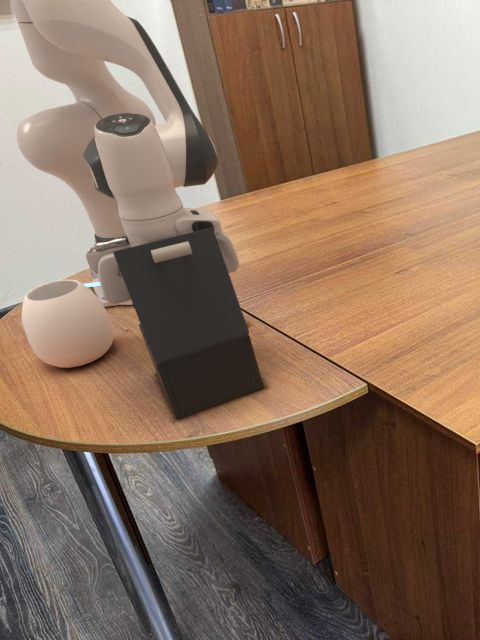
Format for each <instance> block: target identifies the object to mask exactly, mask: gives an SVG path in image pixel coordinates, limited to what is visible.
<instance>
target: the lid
mask: <svg viewBox="0 0 480 640" xmlns="http://www.w3.org/2000/svg"><path fill="white" fill-rule="evenodd" d="M113 253H114V256H115V259H116V261H117V264H118V266H119V269H120V272H121V274H122V277H123V279H124V282H125V285H126V287H127V290H128V293H129V295H130V298H131V300H132V303H133V305H132V306H133V308H134V312H135V314H136V316H137V319H138V321H139V324H141V327H142V329H143V332H144V334H145V337H146V340H147V342H148V345H149V348H150V350H151V353H152V355H153V358H154V361H155V363H158V362H161V361H164V360H167V359H170V358H173V357H177V356H180V355H183V354H186V353H189V352H192V351H195V350H199V349H202V348H205V347H208V346H211V345H214V344H217V343H220V342H224V341H227V340H230V339H233V338H236V337H239V336H242V335H245V334H249V335H250V331H249V328H248V325H247V322H246V319H245V317H244V313H243V311H242V308H241V305H240V301H239V299H238V297H237V294H236V291H235V288H234V284H233V282H232V279H231V276H230V273H228V270H227V267H226V264H225V261H224V258H223V256H222V253H221V250H220V247H219V244H218V241H217V238H216V235H215V233H214V230H213V228H208V229H204V230H200V231H196V232H192V233H187V234H183V235H179V236H175V237H171V238H167V239H163V240H159V241H154V242H150V243H146V244H142V245H138V246H134V247H130V248H126V249H121V250H117V251H113Z"/></svg>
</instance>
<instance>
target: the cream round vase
mask: <svg viewBox="0 0 480 640" xmlns="http://www.w3.org/2000/svg"><path fill="white" fill-rule="evenodd" d="M84 284H85V283H83V282H81V281H79V280H76V279H58V280H53V281H49V282H45V283H42V284H40V285H38V286H36V287H34V288H32V289H30V290H29V291H28V292H27V293H26V294H25V295H24V297H23V301H22V307H21V324H22V328H23V330H24V333H25V336H26V338H27V341H28V343H29V345H30V347H31V349H32V351H33V353H34V355H35V356H36V357H38V358H39V360H41V361H42V362H43V363H45V364H47V365H50V366H52V367H56V368H61V369H63V368H65V369H70V368H75V367H81V366H84V365H87V364H89V363H92V362H95V361H96V360H98V359H101V358H102V356H104V355H105V354H106V353H107V352H108V351H109V349H110V348H111V346H112V344H113V341H114V333H115V329H114V326H113V322H112V321H111V317H110V315H109V313H108V311H107V310H106V307H104V306H103V304H102V302H101V301H100V299H99V298H98V297H97V295H96V293H95V292H94V291H92V289H90V287H86V286H85V285H84Z"/></svg>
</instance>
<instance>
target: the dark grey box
mask: <svg viewBox="0 0 480 640" xmlns="http://www.w3.org/2000/svg"><path fill="white" fill-rule="evenodd" d="M138 327H139V330H140V332H141V335H142V338H143V340H144V343H145V346H146V349H147V352H148V354H149V357H150V359H151V362H152V366H153V367H154V370H155V372H156V375H157V378H158V380H159V382H160V384H161V387H162V390H163V392H164V395H165V396H166V399H167V401H168V403H169V405H170V408H171V410H172V413H173V415H174V417H175V420H179V419H182V418H185V417H187V416H190V415H194V414H196V413H199V412H200V411H205V410H206V409H210V408H211V407H215V406H219V405H221V404H224V403H227V402H229V401H232V400H235V399H238V398H241V397H244V396H246V395H249V394H252V393H254V392H258V391H259V390H263V389H264V388H265V387H264V383H263V379H262V376H261V372H260V369H259V365H258V360H257V357H256V353H255V351H254V347H253V343H252V339H251V336H250V333H249V334H245V335H242V336H239V337H236V338H233V339H230V340H227V341H224V342H220V343H217V344H214V345H211V346H208V347H205V348H202V349H199V350H195V351H192V352H189V353H186V354H183V355H180V356H177V357H173V358H170V359H167V360H164V361H161V362H158V363H155V361H154V358H153V355H152V353H151V350H150V348H149V345H148V342H147V340H146V337H145V334H144V332H143V329H142V327H141V324H140V323H139V324H138Z"/></svg>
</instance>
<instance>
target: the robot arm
mask: <svg viewBox="0 0 480 640" xmlns="http://www.w3.org/2000/svg"><path fill="white" fill-rule="evenodd" d="M10 3H11V7H12V10H13V13H14V16H15V19H16V21H17V25H18V27H19V30H20V33H21V36H22V38H23V41H24V44H25V47H26V50H27V52H28V56H29V58H30V60H31V64H32V65H33V67H34V68H35V70H37V71H38V72H39V74H41V75H42V76H43V77H45V78H47V79H49V80H51V81H54V82H57V83H60V84H63V85H65V86H67V87H68V89H69V90H70V92H71V93H72V95H73V97H74V99H75V103H70V104H65V105H61V106H57V107H52V108H47V109H43V110H41V111H39V112H36V113H34V114H32V115H30V116H29V117H27V118H24V119H23V120H21V121H20V122H19V124H18V127H17V131H16V140H17V141H16V143H17V145H18V149H19V150H20V152H21V154H22V156H23V157H24V158H25V159H26V161H27V162H28V163H29V164H30V165H32V166H33V167H34V168H36V169H37V170H39V171H41V172H43V173H45V174H48V175H51V176H54V177H55V178H57V179H59V180H61V181H62V182H64V183H65V184H66V185H67V186H68V187H69V188H70V189H71V190H72V191H73V192H74V193H75V194H76V195H77V197H78V198H79V200H80V201H81V203H82V206H83V207H84V210H85V211H86V214H87V217H88V218H89V221H90V223H91V226H92V228H93V230H94V244H93V246H92V247H90V248H89V249H88V250H87V251H86V255H85V258H86V261H87V264H88V266H89V272H90V274H91V277H92V278H93V279H92V280H91V281H90V282H89V283H88V282H87V283H83V284H84V285H85V286H86V287H88V288H91V287H92V289H93V292H94V294H95V295H96V296H97V297H98V298H99V299H100V301H101V302H102V304H103V306H104V308H106V307H114V306H133V303H132V300H131V298H130V295H129V293H128V290H127V287H126V285H125V282H124V279H123V277H122V274H121V272H120V269H119V266H118V264H117V261H116V259H115V256H114V253H113V251H117V250H121V249H126V248H130V247H134V246H138V245H142V244H146V243H150V242H154V241H159V240H163V239H167V238H171V237H175V236H179V235H183V234H187V233H192V232H196V231H200V230H204V229H208V228H213V230H214V233H215V235H216V238H217V241H218V244H219V247H220V250H221V253H222V256H223V258H224V261H225V264H226V267H227V270H228V273H229V274H231V273H234V272H236V271H237V270H238V269H239V267H240V261H239V258H238V257H239V256H238V254H237V252H236V249H235V247H234V244H233V242H232V240H231V239H230V237H229V235H227V234H226V233H225V232H224V231H223V229H222V224H221V221H220V219H219V217H218V216H216V214H215V213H213V212H212V211H211V210H209V209H206V208H205V209H204V208H190V207H189V208H188V207H184V205H183V202H182V199H181V198H180V197H179V195H178V193H177V190H176V188H180V187H183V188H187V187H195V186H196V187H197V186H204V185H206V184H207V183H208V182H209V180H210V179H211V178H212V177H213V175H214V174H215V172H216V170H217V169H218V166H219V160H218V153H217V150H216V147H215V144H214V142H213V140H212V139H211V137H210V135H209V134H208V132H207V131H206V129H205V128H204V126H203V125H202V123H201V121H200V120H199V118H198V117H197V116H196V114H195V113H194V111H193V110H192V108H191V106H190V104H189V103H188V101H187V98H186V97H185V95H184V94H183V92H182V90H181V88H180V86H179V84H178V83H177V81H176V80H175V79H176V78H174V76H173V74H172V73H171V70H170V68H169V67H168V65H167V63H166V62H165V59H164V58H163V57H162V54H161V53H160V52H159V50H158V48H157V46H156V44H155V43H154V41H153V40H152V38H151V37H150V35H149V33H148V32H147V30H146V29H145V28H144V26H142V24H141V23H140V22H139V21H138V20H137V19H135V18H132V17H130V16H128V15H125V13H123V12H122V11H121V10H120V9H119V8H118V7H117V6H116V5H115V4H114V3H113V2H112V0H10ZM106 62H107V63H110V64H114V65H117V66H120V67H123V68H125V69H127V70H129V71H130V72H133V73H134V74H135V75H136V76H137V77H139V79H140V80H141V81H142V83H143V84H144V86H145V88H146V90H147V91H148V93H149V95H150V97H151V98H152V100H153V102H154V104H155V106H156V107H157V109H158V110H159V112H160V114H161V116H162V117H163V119H164V121H165V122H164V123H161V124H157V122H156V118H155V115H154V113H153V111H152V109H151V108H150V107H149V106H148V104H147V103H146V102H145V101H144V100H143V99H141V98H140V97H138V96H136V95H134V94H132V93H131V92H129V91H128V90H126V89H125V88H124V87H123V86H122V85H121V84H120V83H119V82H118V81H117V80H116V79H115V77H114V76H113V74H112V73H111V71H110V70H109V69H108V67H107V65H106Z"/></svg>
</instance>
